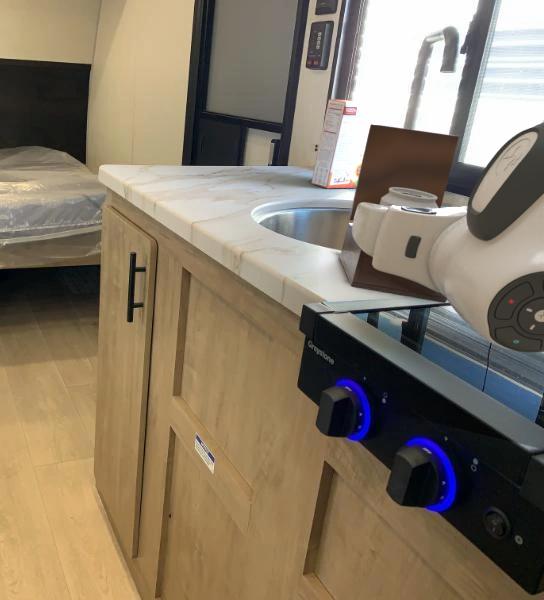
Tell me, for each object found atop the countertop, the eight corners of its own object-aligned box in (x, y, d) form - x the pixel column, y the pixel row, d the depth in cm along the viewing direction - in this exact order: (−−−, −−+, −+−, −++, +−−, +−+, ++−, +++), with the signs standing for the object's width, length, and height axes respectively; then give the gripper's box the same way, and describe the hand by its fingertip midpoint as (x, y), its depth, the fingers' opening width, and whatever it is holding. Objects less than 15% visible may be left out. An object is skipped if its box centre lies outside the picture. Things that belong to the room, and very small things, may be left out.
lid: (459, 136, 85) (447, 138, 90) (371, 123, 87) (364, 127, 92) (434, 233, 88) (423, 230, 93) (349, 219, 90) (344, 218, 94)
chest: (445, 302, 79) (459, 262, 76) (351, 286, 80) (361, 246, 78) (421, 271, 91) (432, 236, 89) (339, 257, 92) (348, 222, 90)
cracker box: (345, 183, 160) (365, 101, 152) (363, 188, 155) (385, 104, 148) (308, 183, 153) (328, 97, 145) (326, 189, 148) (347, 100, 140)
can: (413, 272, 88) (438, 191, 83) (420, 288, 81) (448, 201, 76) (360, 261, 89) (382, 182, 85) (363, 276, 83) (387, 191, 78)
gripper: (601, 240, 55) (538, 208, 68) (374, 205, 58) (354, 180, 70) (574, 302, 57) (518, 260, 70) (357, 266, 60) (341, 232, 73)
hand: (434, 220), depth 70 cm, fingers open, 8 cm apart
